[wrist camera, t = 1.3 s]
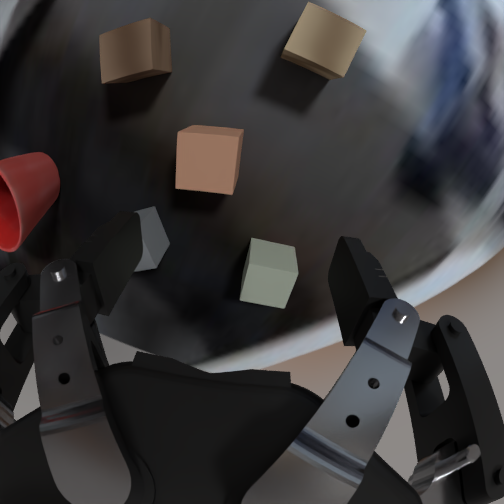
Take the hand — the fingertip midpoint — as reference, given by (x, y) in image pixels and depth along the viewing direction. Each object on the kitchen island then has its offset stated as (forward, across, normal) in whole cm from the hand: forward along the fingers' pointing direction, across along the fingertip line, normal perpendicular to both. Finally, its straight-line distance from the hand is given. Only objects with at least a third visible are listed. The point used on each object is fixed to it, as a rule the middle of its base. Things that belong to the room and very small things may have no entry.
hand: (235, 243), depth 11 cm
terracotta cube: (+18, +4, +1) cm, 18 cm away
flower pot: (+18, +28, +4) cm, 33 cm away
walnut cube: (+18, +12, -10) cm, 23 cm away
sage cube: (+18, -3, +13) cm, 22 cm away
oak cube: (+18, -4, -11) cm, 21 cm away
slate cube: (+18, +12, +10) cm, 24 cm away
